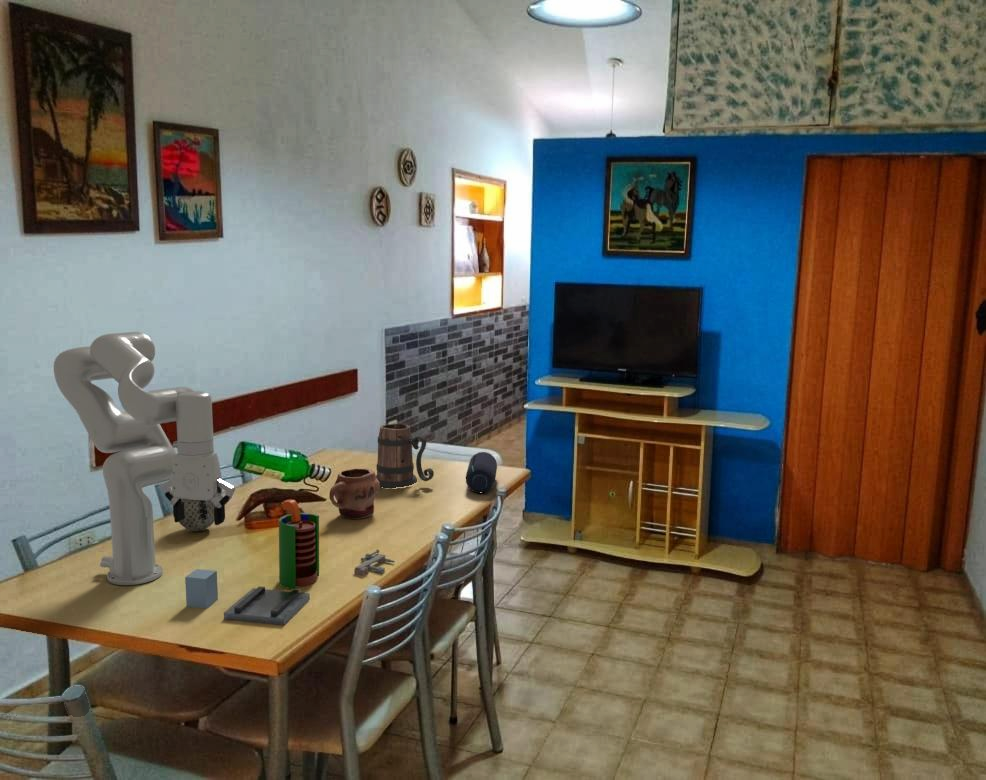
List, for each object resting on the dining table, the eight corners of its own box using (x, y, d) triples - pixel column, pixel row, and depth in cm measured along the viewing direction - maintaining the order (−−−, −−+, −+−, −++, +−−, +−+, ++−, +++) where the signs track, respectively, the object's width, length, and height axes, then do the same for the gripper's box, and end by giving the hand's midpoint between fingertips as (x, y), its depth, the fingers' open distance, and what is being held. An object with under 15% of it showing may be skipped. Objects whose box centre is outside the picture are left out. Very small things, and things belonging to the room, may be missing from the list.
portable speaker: (469, 476, 307) (469, 449, 305) (497, 476, 307) (497, 449, 305) (464, 495, 282) (464, 466, 281) (494, 496, 282) (495, 467, 280)
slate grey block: (186, 606, 192) (185, 577, 191) (201, 595, 199) (200, 566, 198) (206, 608, 192) (205, 578, 190) (221, 596, 198) (220, 568, 197)
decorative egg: (184, 539, 236) (182, 487, 233) (169, 528, 245) (167, 478, 242) (225, 531, 243) (223, 480, 241) (209, 521, 252) (207, 472, 250)
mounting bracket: (224, 619, 186) (223, 608, 186) (253, 594, 200) (252, 584, 199) (284, 625, 184) (283, 614, 183) (309, 599, 197) (309, 589, 197)
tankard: (361, 484, 293) (360, 427, 290) (388, 473, 308) (388, 419, 305) (419, 494, 283) (419, 435, 280) (444, 482, 298) (445, 426, 295)
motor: (307, 590, 202) (305, 509, 199) (272, 587, 204) (269, 506, 201) (323, 574, 212) (322, 497, 209) (290, 571, 214) (288, 494, 211)
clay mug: (349, 529, 247) (349, 482, 245) (316, 522, 252) (315, 476, 250) (389, 511, 264) (389, 467, 262) (357, 505, 270) (357, 462, 268)
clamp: (373, 571, 210) (340, 564, 215) (373, 580, 210) (341, 572, 215) (407, 553, 223) (376, 546, 228) (407, 561, 224) (376, 554, 228)
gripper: (150, 449, 186) (154, 524, 189) (223, 453, 183) (227, 529, 186) (169, 442, 194) (173, 514, 196) (240, 445, 191) (243, 519, 193)
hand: (199, 522), depth 191 cm, fingers open, 9 cm apart
